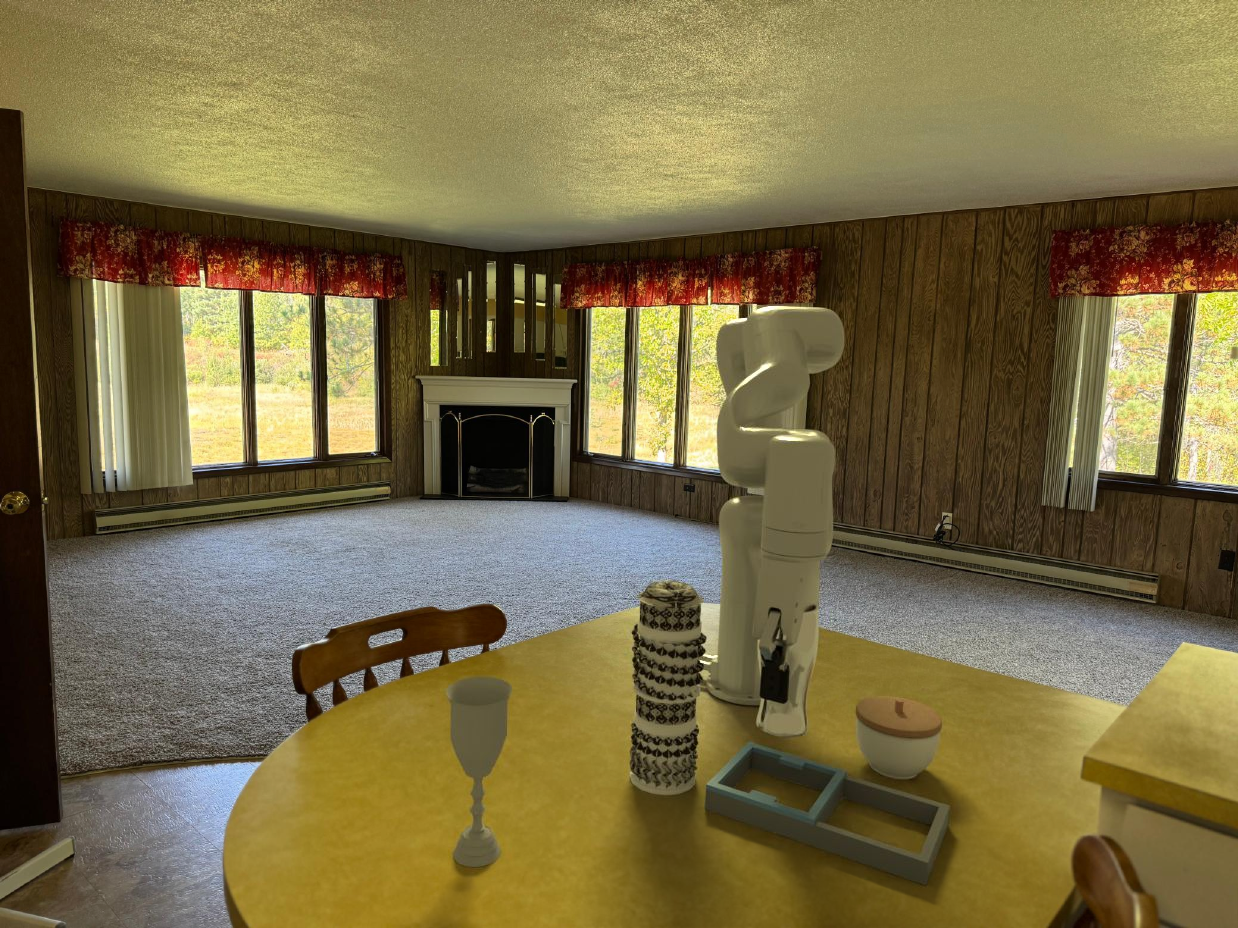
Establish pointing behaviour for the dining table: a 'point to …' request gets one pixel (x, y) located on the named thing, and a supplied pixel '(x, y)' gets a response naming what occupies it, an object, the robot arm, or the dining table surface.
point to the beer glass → (793, 682)
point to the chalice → (478, 755)
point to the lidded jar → (897, 735)
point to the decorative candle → (666, 688)
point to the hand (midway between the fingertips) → (784, 688)
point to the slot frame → (826, 810)
